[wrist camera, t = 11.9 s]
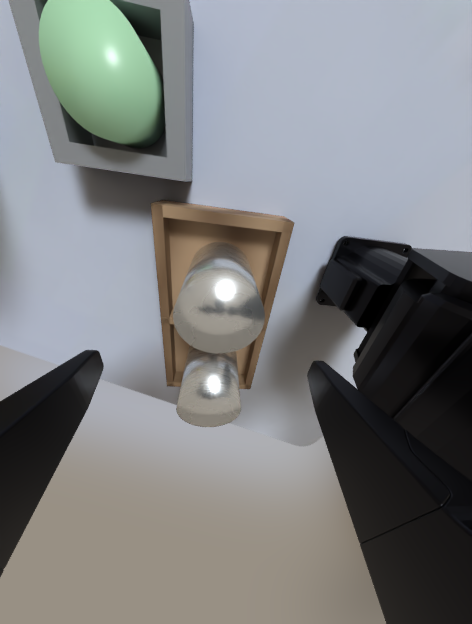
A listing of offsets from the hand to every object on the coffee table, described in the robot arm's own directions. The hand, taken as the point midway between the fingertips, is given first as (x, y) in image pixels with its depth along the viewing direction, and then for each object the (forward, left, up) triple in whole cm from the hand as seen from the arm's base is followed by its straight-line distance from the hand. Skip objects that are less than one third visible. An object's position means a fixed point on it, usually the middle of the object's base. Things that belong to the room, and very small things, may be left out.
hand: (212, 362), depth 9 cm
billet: (0, 0, -10) cm, 10 cm away
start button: (+6, -10, -10) cm, 15 cm away
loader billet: (0, +9, -10) cm, 13 cm away
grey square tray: (+6, -10, -11) cm, 16 cm away
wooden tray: (0, +4, -11) cm, 12 cm away
